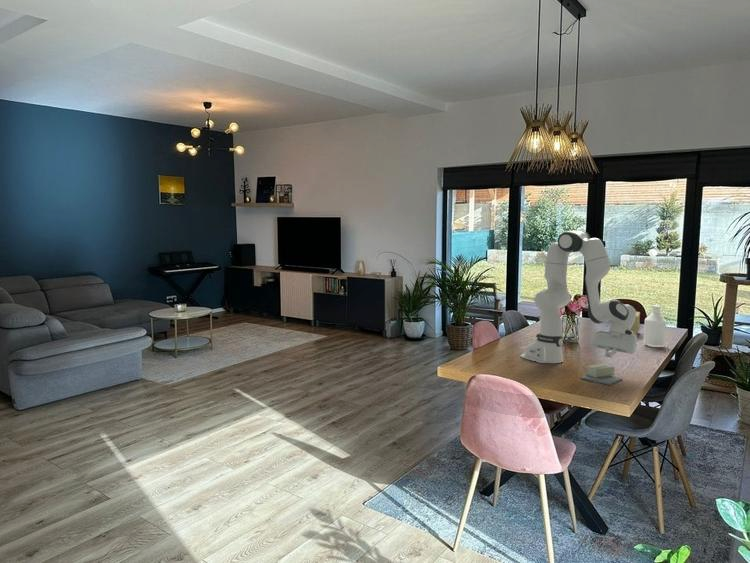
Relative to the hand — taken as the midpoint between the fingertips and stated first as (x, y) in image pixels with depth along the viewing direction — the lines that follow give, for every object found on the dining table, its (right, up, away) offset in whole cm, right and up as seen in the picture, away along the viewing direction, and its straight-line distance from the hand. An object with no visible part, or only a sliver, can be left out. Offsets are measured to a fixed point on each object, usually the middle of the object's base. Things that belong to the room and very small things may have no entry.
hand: (608, 356), depth 259 cm
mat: (-4, -11, -3) cm, 12 cm away
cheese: (+64, -1, +109) cm, 126 cm away
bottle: (+60, -4, +74) cm, 96 cm away
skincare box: (+3, -7, +4) cm, 9 cm away
